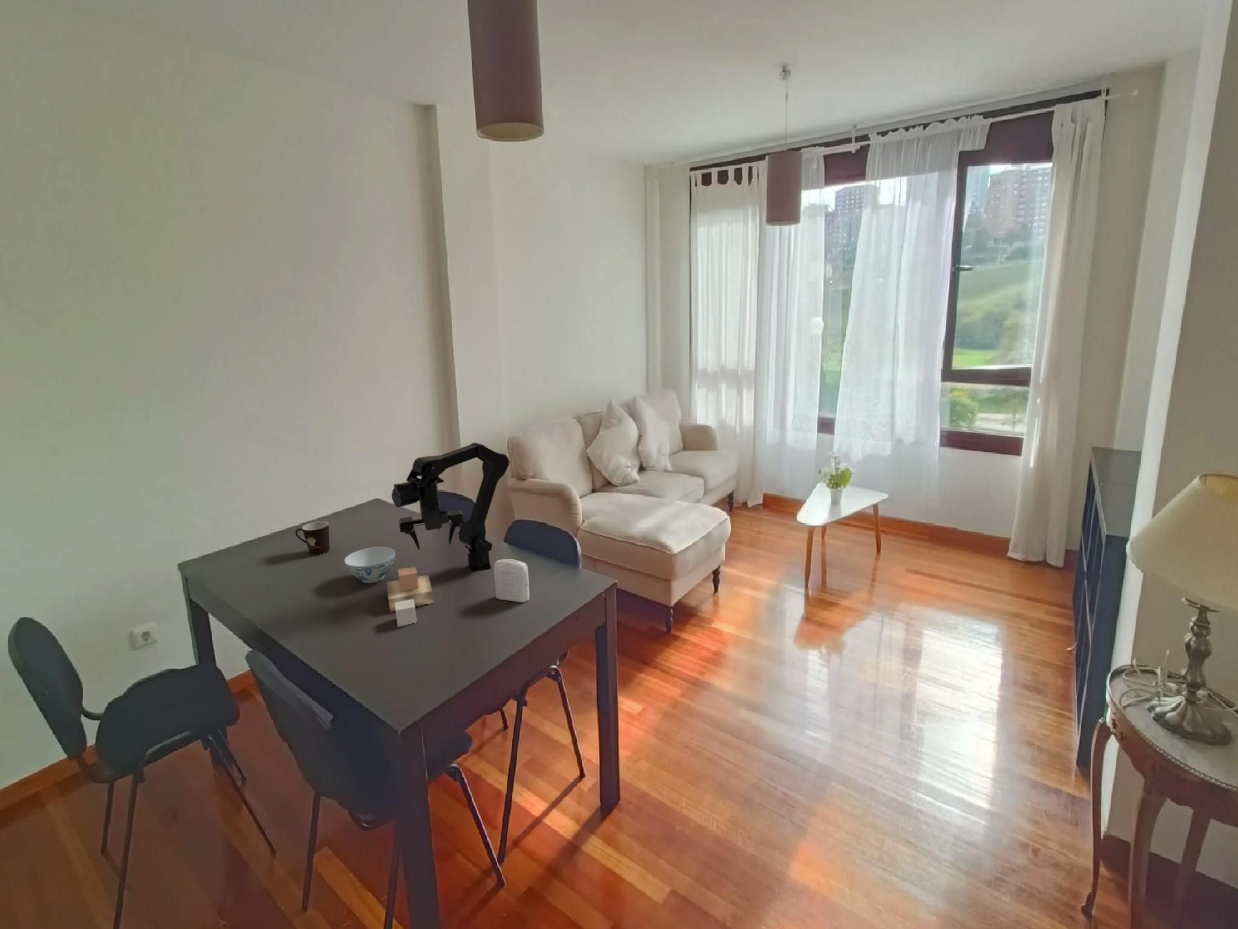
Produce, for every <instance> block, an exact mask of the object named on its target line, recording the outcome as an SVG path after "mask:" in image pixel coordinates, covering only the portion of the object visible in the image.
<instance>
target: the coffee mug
mask: <svg viewBox="0 0 1238 929" xmlns="http://www.w3.org/2000/svg"><path fill="white" fill-rule="evenodd" d="M298 531H302V533H303V536H304V539H303V538H301V536H300V535H299V534H298ZM294 534H295V536H296V537H297V538H298V539H299V540H300V541H302V542H303V543H305V544H306V546H307V549H308V552H309V555H310V554H311V555H310V556H314V555H316V556H321V555H320V554H322V555H324V554H323V553H325V554H327V553H329V552H330V550H329V549H330V523H329V522H328V521H325V520H322V521H313V522H309V523H306V524H304V525H303V526H302V527H301V528H297V529H295V532H294ZM328 551H329V552H328Z"/></svg>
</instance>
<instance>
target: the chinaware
mask: <svg viewBox="0 0 1238 929" xmlns="http://www.w3.org/2000/svg"><path fill="white" fill-rule="evenodd" d="M395 557H396V552H395V550H394V549H393V548H390V547H387V546H375V547H374V546H373V547H368V548H363V549H360V550H359V549H358V550H357V551H353V552H352V553H350V554H349V555H347V556H346V557H345V559H344V562H343V563H344V565H345V566H346V569H347V570H348V572H349V573H350V574H351V575H352V576H354V577H355V578H357V579H360V580H361V582H363V583H366V584H371V583H373V584H374V583H377V582H380V581H382V580H383V579H384V578H385V575H387V573H389V571H390V570H391V568H392V567H393V565H394V562H395V559H396V558H395ZM379 580H380V581H379Z"/></svg>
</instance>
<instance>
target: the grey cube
mask: <svg viewBox="0 0 1238 929" xmlns="http://www.w3.org/2000/svg"><path fill="white" fill-rule="evenodd" d="M395 609H396V611H395V614H396V616H395V617H396V623H397V628H399V627H404V626H408V624H409V625H413V624H412V623H414V624H417V623H418V620H417V613H416V607H415V604H414V599H410V600H405V601H400V602H395ZM416 622H417V623H416Z"/></svg>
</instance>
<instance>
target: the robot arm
mask: <svg viewBox="0 0 1238 929" xmlns="http://www.w3.org/2000/svg"><path fill="white" fill-rule="evenodd" d="M476 458H477V459H478V460H480V461H481V462H482V465H481V467H482V469H481V470H482V475H483V476H482V480H481V484H480V486H479V489H478V493H477V496H476V499H475V502H474V505H473V509H472V511H471V515H470V517H469V519H468V520H467V521H466V522H465V517H464V513H463V512H462V510H460V509H454V510H449V511H448V510H441V506H440V496H439V489H438V484H443V483H444V481H445V480H444V479H443V478H441V477H440V475H442V474H443V473H444V472H445V471H446V470H447V469H450V468H452V467H454V466H457V465H459V464H462V463H465V462H469V461H471V460H474V459H476ZM509 465H510V460H509V458H508V456H507V455H506V454H504V453H501V452H497V451H494V450H492V449H491V448H488V447H487V446H485V445H484V444H482V443H478V442H472V443H470V444H468V445H465V446H463V447H460V448H457V449H454V450H452V451H449V452H446V453H442V454H439V455H427V456H421V457H417V458H416V459H415V460H414V461H413V463H412V468H411V470H410V472H409V474H408V475H407V477H406V481H405V482H402V483H395V484H393V488H392V493H391V500H392V502H393V505H394V506H395V507H396V508H402V507H406V506H411V505H413V504H417V503H418V502H419V510H420V517H421V518H418V519H413V516H407V517H400V518H399V519H398V525H399V526H398V527H399V531H400V533H404V534H406V535H409V536H410V537H411V538H412V540H413V542H414V544H415V546H416V548H417V550H420V549H421V547H420V544H419V543H420V542H419V540H418V537H417V532H416V528H415V527H417V526H425V527H424V528H425V530H426V531H432V530H440V529H442V528H443V524H446V523H447V540H448V545H451V544H452V541H453V540H452V539H453V535H454V533H455V529H456V528H457V527H459V526H460V528H459V531H458V533H457V534H458V540H459V543H461V545H463V546H464V548H465V549H467V553H466V561H467V567H468V568H469V569H470V571H471V572H476V571H482V570H488V569H491V568H492V565H491V561H490V551H492V548H493V544H492V542H490V541H488V540H487V539H486V535H487V530H486V528H487V527H486V520H487V518H488V517H487V516H488V513H489V511H490V507H491V504H492V501H493V498H494V494H495V492H496V488H497V485H498V482H499V481H500V480H501V479H502V477H504V475H505V474H506V472H507V471H508V468H509ZM419 477H421V478H419Z"/></svg>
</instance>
